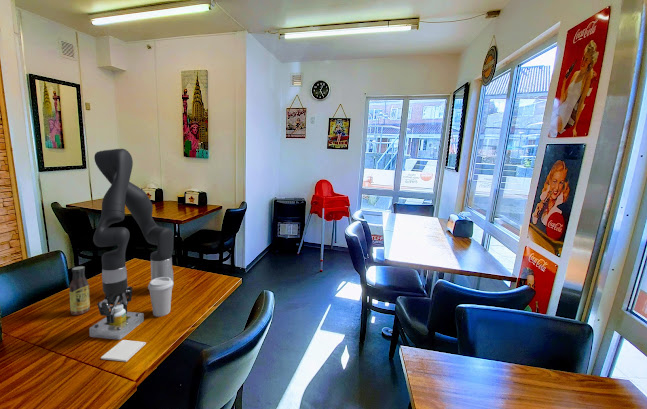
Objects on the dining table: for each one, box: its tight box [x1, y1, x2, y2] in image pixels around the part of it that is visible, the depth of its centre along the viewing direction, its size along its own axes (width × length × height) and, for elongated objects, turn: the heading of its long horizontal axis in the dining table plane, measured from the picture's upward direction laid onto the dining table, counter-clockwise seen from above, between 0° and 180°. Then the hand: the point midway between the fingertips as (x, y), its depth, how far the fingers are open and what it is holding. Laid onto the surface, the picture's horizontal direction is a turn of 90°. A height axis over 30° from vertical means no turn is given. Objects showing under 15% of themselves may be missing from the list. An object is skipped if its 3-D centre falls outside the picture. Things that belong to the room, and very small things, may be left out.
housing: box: [88, 311, 145, 341], centre depth 104 cm, size 12×12×4 cm
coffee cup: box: [147, 277, 174, 318], centre depth 116 cm, size 10×10×15 cm
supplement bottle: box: [109, 303, 126, 326], centre depth 104 cm, size 5×5×10 cm
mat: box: [100, 339, 147, 363], centre depth 93 cm, size 9×9×1 cm
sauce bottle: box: [68, 265, 91, 316], centre depth 112 cm, size 7×6×20 cm
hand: (117, 318), depth 104 cm, fingers closed on supplement bottle, 5 cm apart
